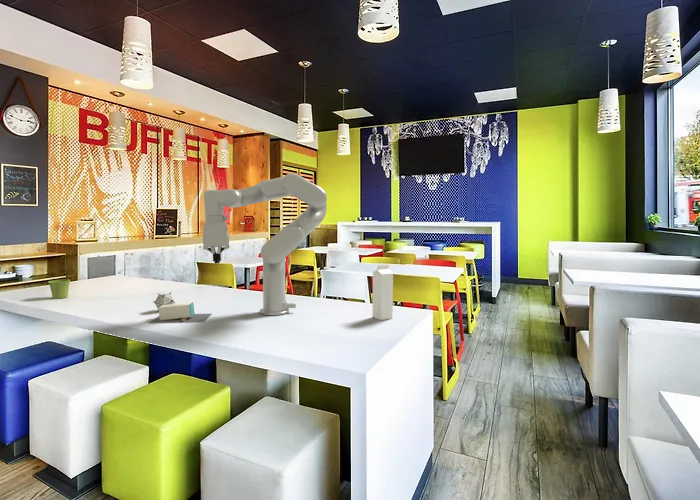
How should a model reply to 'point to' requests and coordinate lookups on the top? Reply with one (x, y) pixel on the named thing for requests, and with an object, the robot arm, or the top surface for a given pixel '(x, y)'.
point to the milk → (382, 293)
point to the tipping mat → (183, 319)
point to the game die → (163, 300)
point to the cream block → (176, 311)
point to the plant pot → (59, 288)
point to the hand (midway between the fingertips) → (217, 263)
